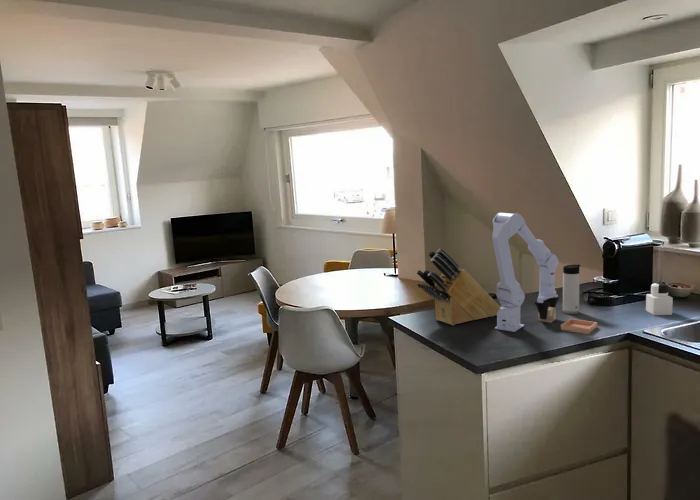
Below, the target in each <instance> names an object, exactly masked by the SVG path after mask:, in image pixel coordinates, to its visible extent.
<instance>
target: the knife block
mask: <svg viewBox="0 0 700 500" xmlns="http://www.w3.org/2000/svg"><path fill="white" fill-rule="evenodd" d="M428 256H429V257H430V258H431V259H430V262H431V263H432V264H433V265H434V266H435V267H436V268H437V269H438V271H439V272H440V273H441V274H440V275H439V274H437V273H435V272H434V271H429V270H426V269H425V270H424V271H421V270H420V269H418V270H417V271H415V274H417V275H418V276H419V277H420V279H422V280H423V281H424V282H425V283H427V284H428V285H427V284H422V283H417V287H418V288H420V289H422V290H423V291H424V292H425V293H426V294H427V295H429V296H430V297H432V298H433V299H434V308H435V309H434V312H435V320H437V321H438V322H443V323H445V324H448V325H451V326H455V325H457V324H463V323H467V322H470V321H475V320H480V319H485V318H490V317H491V318H492V317H495V316H497V312H498V310H499V309H500V307H501V305H499V304H498V302H496V301H495V300H494V298H492V296H490V294H488V292H487V291H486V290H485V289H484V288H483V287H482V286H481V285H480V284H479V283H478V281H476V280H475V279H474V277H472V275H470V273H469V272H468V271H467V270H466V269H465V268H461V267H460V266H459V264H458V263H456V261H455V260H454V259H453V258H452V257H451V256H450V255H449V254H448V253H447V252H445V250H443V249H441V248H438V249H437V251H436V252H434V251H432V250H431V251H430V252H429V253H428Z"/></svg>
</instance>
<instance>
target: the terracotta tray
mask: <svg viewBox="0 0 700 500" xmlns="http://www.w3.org/2000/svg"><path fill="white" fill-rule="evenodd" d="M596 329H598V321H597V322H596V321H589V320H584V319H577V318H576V319H575V318H569V319H567V320H566V321H564V322H562V323H561V324H560V331H565V332H571V333H575V334H585V335H590V334H591V333H592V332H594V331H595V330H596Z"/></svg>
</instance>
